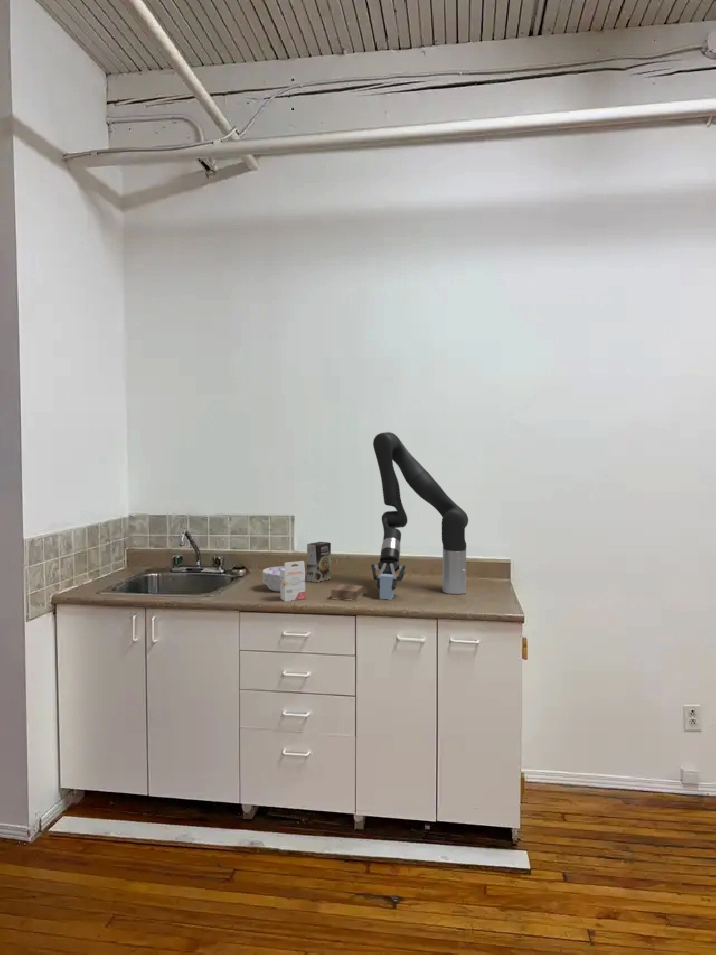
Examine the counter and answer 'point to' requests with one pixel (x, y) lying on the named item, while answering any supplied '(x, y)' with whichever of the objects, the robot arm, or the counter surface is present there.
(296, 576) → the ink cartridge box
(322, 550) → the coffee box
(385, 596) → the slate block
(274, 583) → the paper bowls
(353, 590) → the walnut block
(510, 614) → the counter surface
